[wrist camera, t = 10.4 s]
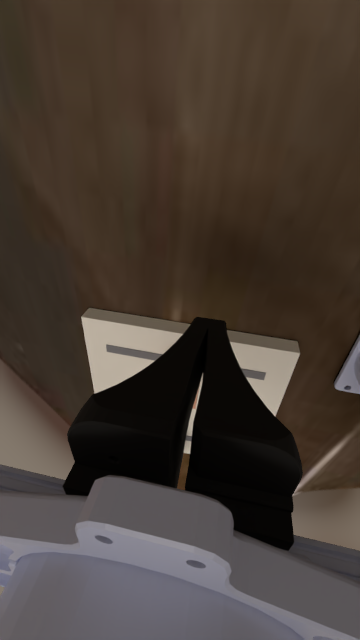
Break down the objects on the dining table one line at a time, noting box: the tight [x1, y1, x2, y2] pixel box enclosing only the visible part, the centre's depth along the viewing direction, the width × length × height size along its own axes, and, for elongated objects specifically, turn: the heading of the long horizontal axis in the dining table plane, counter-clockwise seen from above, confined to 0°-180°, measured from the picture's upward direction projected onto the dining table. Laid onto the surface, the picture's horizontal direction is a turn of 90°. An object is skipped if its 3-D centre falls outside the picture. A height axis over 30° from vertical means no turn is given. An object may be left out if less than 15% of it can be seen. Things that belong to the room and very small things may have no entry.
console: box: [81, 308, 300, 454], centre depth 29 cm, size 18×17×2 cm
